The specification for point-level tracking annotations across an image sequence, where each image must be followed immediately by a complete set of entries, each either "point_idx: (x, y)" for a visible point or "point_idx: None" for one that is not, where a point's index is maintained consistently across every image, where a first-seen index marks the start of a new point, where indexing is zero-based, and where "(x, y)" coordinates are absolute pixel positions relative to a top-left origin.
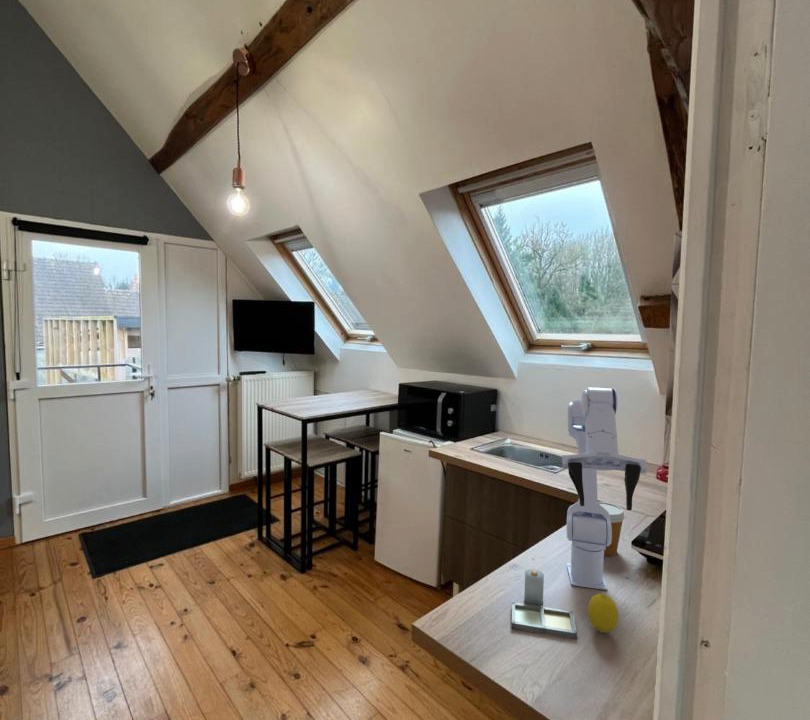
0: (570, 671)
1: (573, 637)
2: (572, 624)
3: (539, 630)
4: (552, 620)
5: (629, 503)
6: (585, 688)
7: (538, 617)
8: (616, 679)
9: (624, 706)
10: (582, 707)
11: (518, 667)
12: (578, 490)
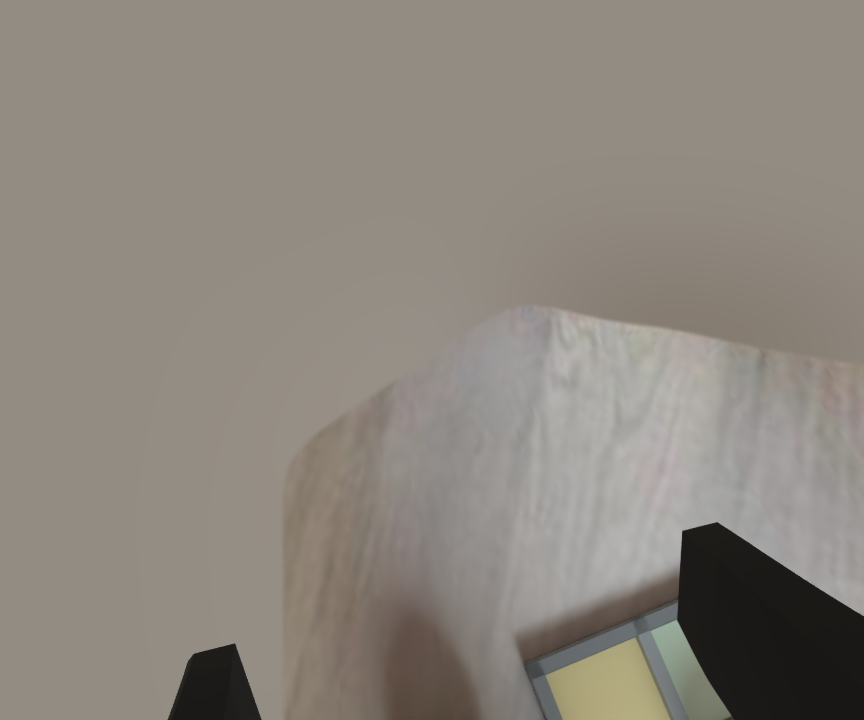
0: (499, 489)
1: (535, 658)
2: (556, 713)
3: (649, 612)
4: (631, 708)
5: (211, 666)
6: (444, 447)
7: (682, 691)
8: (371, 540)
9: (337, 445)
10: (436, 374)
11: (636, 410)
12: (817, 590)
